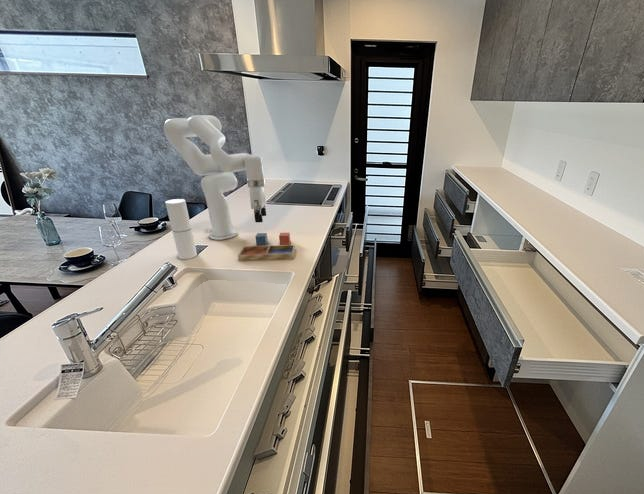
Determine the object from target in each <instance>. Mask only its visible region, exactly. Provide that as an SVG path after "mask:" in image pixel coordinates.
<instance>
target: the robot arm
mask: <svg viewBox="0 0 644 494" xmlns="http://www.w3.org/2000/svg"><path fill="white" fill-rule="evenodd" d="M222 128H223V127H222V122H221V121H220V119H219V118H218V117H217V116H214V115H212V114H195V115H192V116H190V117H189V118H188V117H175V118H174V117H173V118H170V119H166V121H165V122H164V123H163V133H164V135H165V138H166V140H167V141H168V143H169V144H170V145H171V147H172V148H174V150H176V151H177V152H178V154H180V156H181V157H182V159H183V161H184V162H185V163H186V164H187V165H188V166H189V168H190V169H191V171H192V172H193V173H194V174H195V175H197V176H202V177H203V178H202V179H201V180H200V187H201V190H202V192H203V195H204V197H205V201H206V206H207V210H208V215H209V221H210V227H204V228H203V232H204V233H205V234H209V238H210V239H211V240H216V241H222V240H223V241H224V240H228V239H232V238H234V237H236V236H237V231H236V230H235V229H233V223H232V218H231V212H230V205H229V201H228V199H227V198H226V196H225V195H224V193H228V192H231V191H234V190H235V189H237V187H238V179H237V177H236V175H235V174H234V173H237V172H244V171H245V177H246V183H247V188H249V199H250V201H249V202H250V209H251V210H253V215H254V222H255V223H263V222H264V220H263V217H266V216H267V208H266V195H265V188H264V187H266V180H265V173H264V165H263V164H264V163H263V157H262V156H261V154H250V153H247V152H239V153H232V154H231V153H230V154H229V153H227V152H226V151H225V150H224V149H222V148H223V146H224V145H225V144H226V136H225V134H224V133H223V132H221V131H222ZM197 137H198V138H199V139H200V140H201V141H202V142H203V143H204V144H206V145H207V146H208V147H209V153H207V154H205V153H203V152H202V151H201V149H200V148H199V146H197V144H195V142H193V141H191V140H189V139H188V138H197Z"/></svg>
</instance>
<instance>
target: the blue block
mask: <svg viewBox="0 0 644 494" xmlns="http://www.w3.org/2000/svg"><path fill="white" fill-rule="evenodd" d="M268 243H269V239H268V233H267V232H257V233H256V235H255V244H256V245H255V246H268Z"/></svg>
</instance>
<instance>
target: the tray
mask: <svg viewBox="0 0 644 494" xmlns="http://www.w3.org/2000/svg"><path fill="white" fill-rule="evenodd" d="M295 252H296V245H295V244H290V245H280V244H277V245H266V246H257V245H246V246H245V245H244V246H243V247H242V248H241V250H240V252H239V253H238V255H237V259H238V261H239V262H243V261H244V262H247V261H275V260H277V261H278V260H294V257H295V254H296V253H295Z"/></svg>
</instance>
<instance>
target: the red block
mask: <svg viewBox="0 0 644 494" xmlns="http://www.w3.org/2000/svg"><path fill="white" fill-rule="evenodd" d="M278 240H279V245H291V233H290V232H279V235H278Z"/></svg>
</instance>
